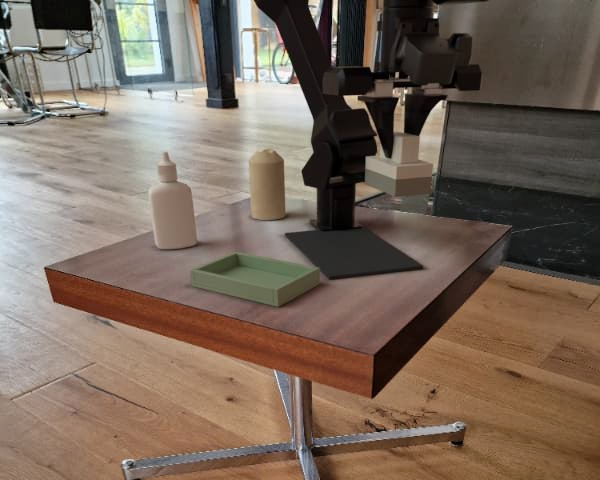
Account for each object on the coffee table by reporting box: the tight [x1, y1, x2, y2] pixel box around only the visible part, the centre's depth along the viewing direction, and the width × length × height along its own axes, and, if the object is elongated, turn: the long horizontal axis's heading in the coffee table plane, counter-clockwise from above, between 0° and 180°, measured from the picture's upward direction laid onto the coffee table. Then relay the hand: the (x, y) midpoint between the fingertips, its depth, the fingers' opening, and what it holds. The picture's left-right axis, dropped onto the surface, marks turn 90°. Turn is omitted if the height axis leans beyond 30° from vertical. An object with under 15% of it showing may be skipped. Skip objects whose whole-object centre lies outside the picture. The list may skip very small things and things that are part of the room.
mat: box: [284, 226, 424, 280], centre depth 75 cm, size 20×12×1 cm, turn 16°
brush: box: [364, 130, 434, 198], centre depth 73 cm, size 9×5×6 cm, turn 19°
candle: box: [248, 148, 286, 221], centre depth 90 cm, size 6×6×10 cm
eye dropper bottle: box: [147, 151, 198, 250], centre depth 76 cm, size 4×6×12 cm
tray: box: [189, 251, 321, 308], centre depth 64 cm, size 12×8×2 cm
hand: (397, 157), depth 72 cm, fingers closed on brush, 2 cm apart
